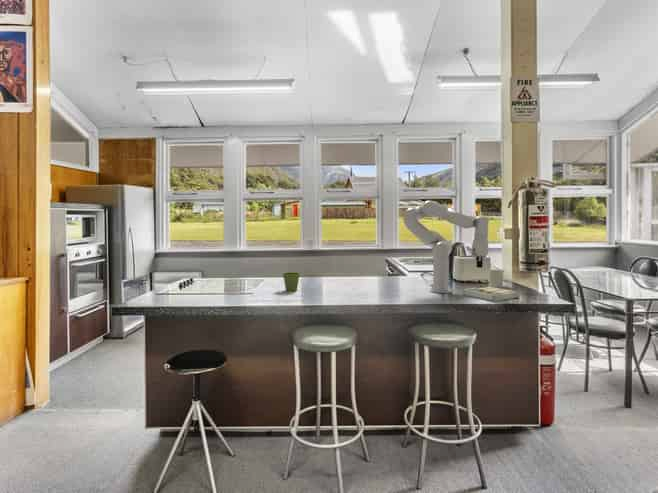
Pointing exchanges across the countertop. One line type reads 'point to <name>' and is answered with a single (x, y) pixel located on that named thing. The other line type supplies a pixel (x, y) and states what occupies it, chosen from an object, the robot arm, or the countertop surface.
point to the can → (495, 277)
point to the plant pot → (291, 280)
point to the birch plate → (498, 292)
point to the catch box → (483, 295)
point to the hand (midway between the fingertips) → (479, 267)
